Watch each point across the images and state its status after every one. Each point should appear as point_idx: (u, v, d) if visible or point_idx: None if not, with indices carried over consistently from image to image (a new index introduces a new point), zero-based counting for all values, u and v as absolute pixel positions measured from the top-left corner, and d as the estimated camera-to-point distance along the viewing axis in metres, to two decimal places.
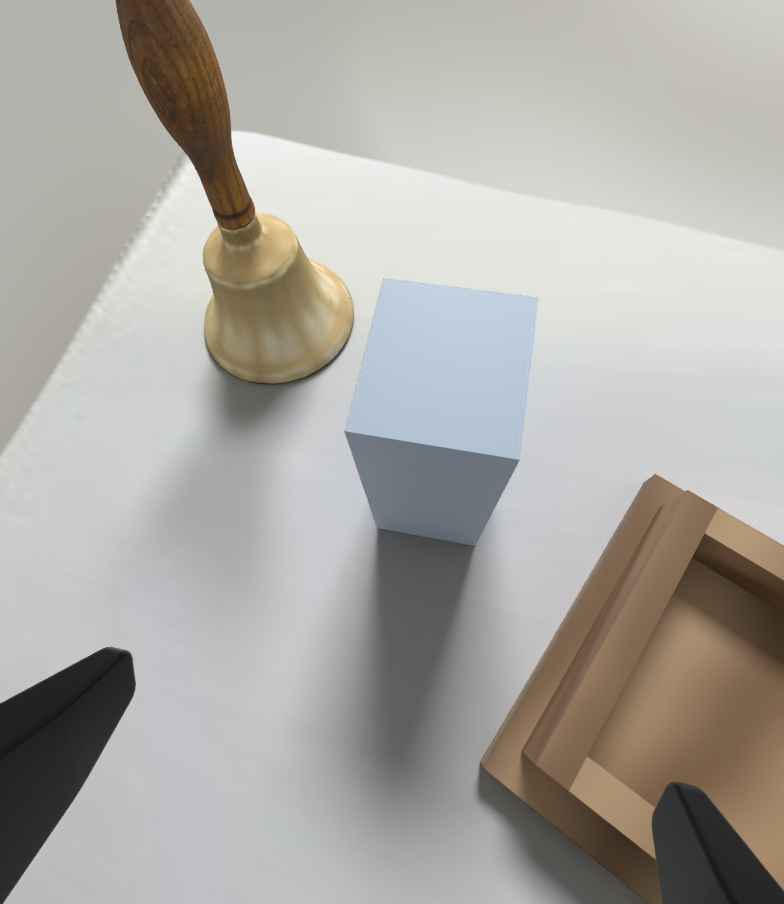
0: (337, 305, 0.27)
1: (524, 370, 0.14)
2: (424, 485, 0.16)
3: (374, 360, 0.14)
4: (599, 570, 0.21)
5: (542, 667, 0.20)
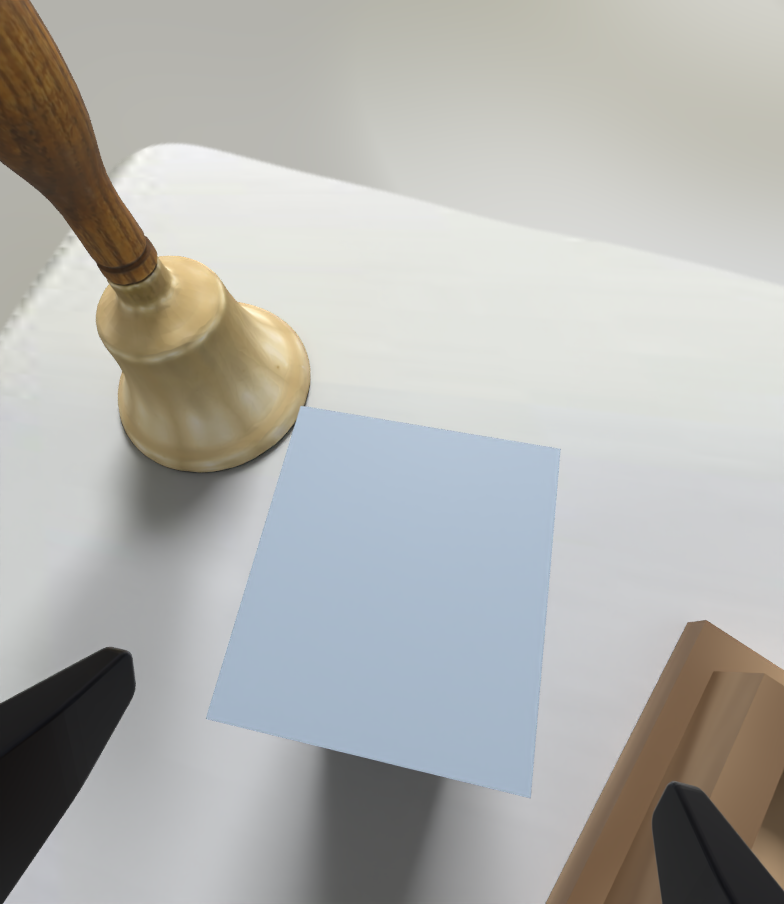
0: (287, 371, 0.21)
1: (538, 595, 0.08)
2: None
3: (273, 566, 0.08)
4: (633, 768, 0.15)
5: None
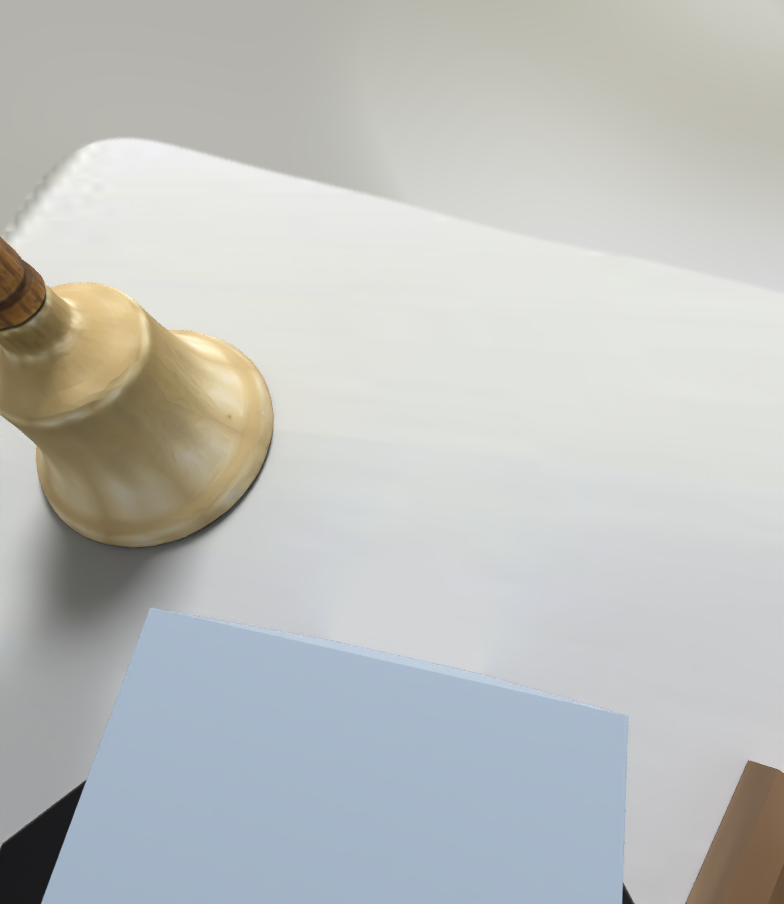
0: (241, 420, 0.17)
1: None
2: None
3: None
4: None
5: None
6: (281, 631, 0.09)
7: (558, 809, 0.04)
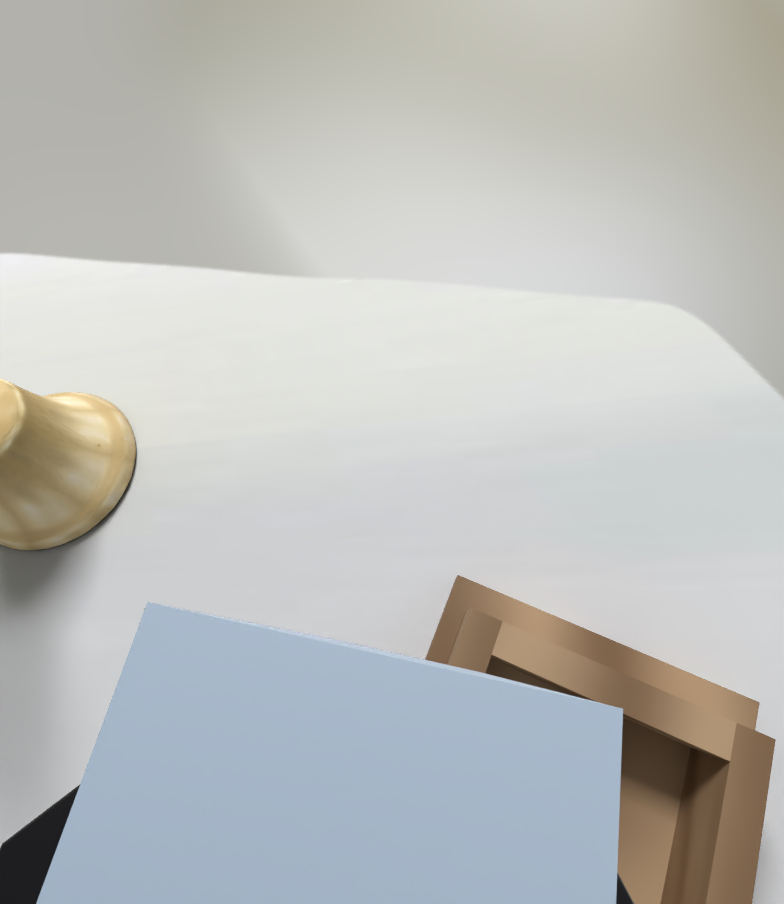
0: (109, 446, 0.24)
1: None
2: None
3: None
4: None
5: None
6: (279, 628, 0.09)
7: (553, 801, 0.04)
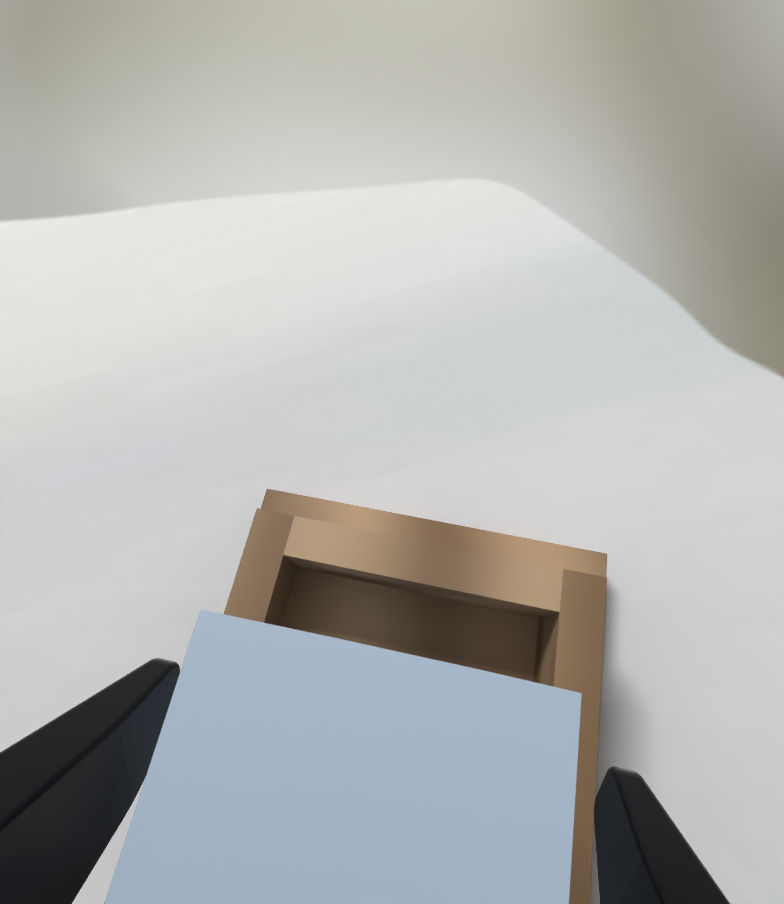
0: None
1: None
2: None
3: (138, 900, 0.05)
4: None
5: None
6: None
7: (525, 765, 0.05)
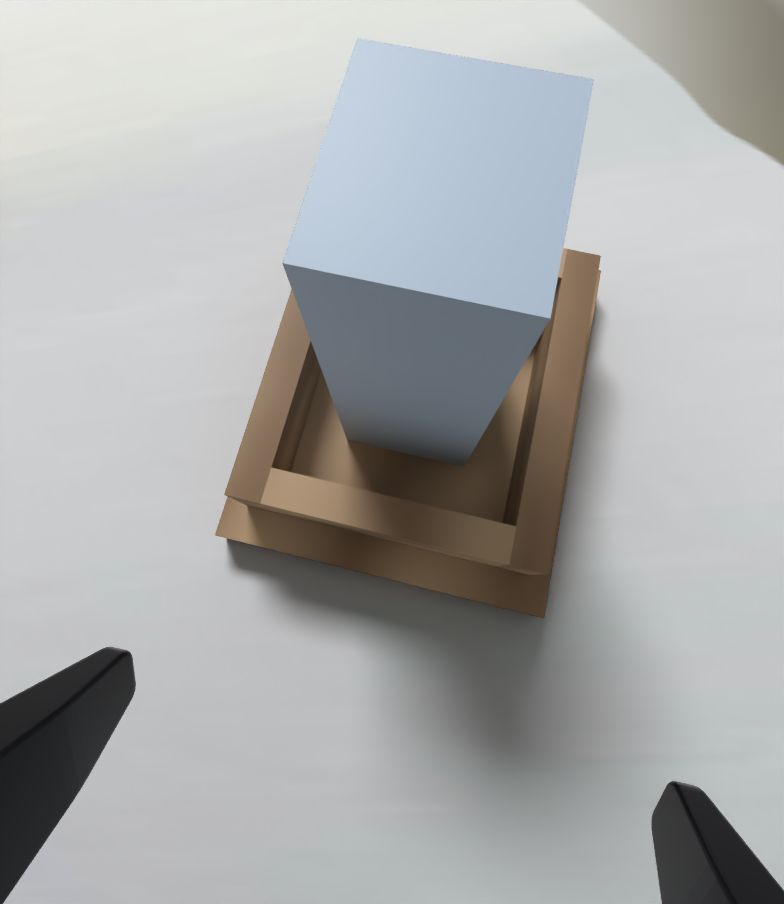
0: None
1: (565, 186, 0.09)
2: (404, 370, 0.12)
3: (335, 160, 0.09)
4: None
5: None
6: None
7: (558, 108, 0.09)
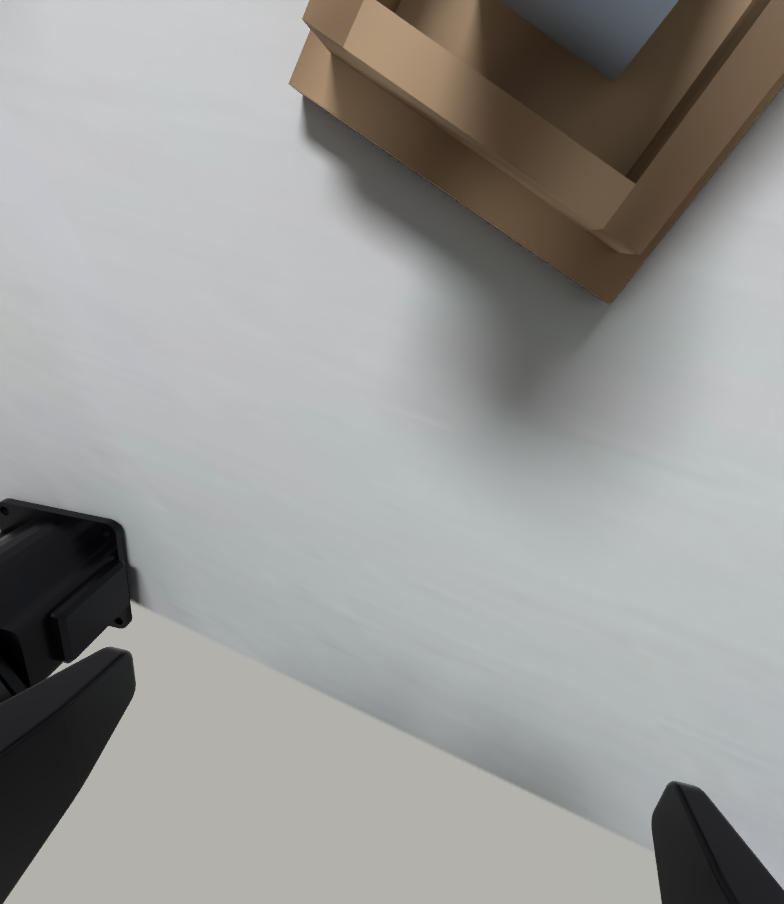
0: None
1: None
2: None
3: None
4: None
5: None
6: None
7: None
